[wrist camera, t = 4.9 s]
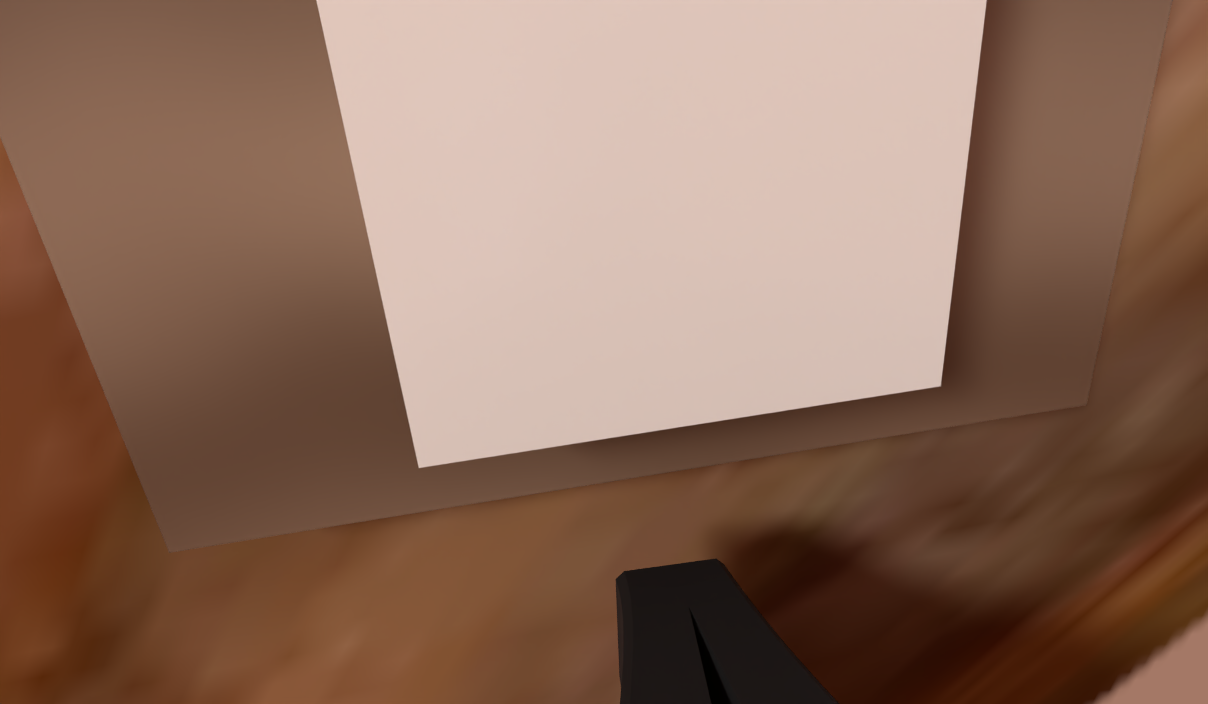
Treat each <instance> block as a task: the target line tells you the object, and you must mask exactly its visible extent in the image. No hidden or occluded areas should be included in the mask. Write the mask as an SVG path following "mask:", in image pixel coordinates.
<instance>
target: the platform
mask: <svg viewBox="0 0 1208 704" xmlns="http://www.w3.org/2000/svg"><path fill="white" fill-rule="evenodd" d="M1171 5H1172V0H987V1H986V10H985V18H984V27H983V35H982V43H981V52H980V60H979V69H978V77H977V85H976V94H975V102H974V111H973V119H972V127H971V136H970V144H969V153H968V161H967V170H966V178H965V186H964V195H963V203H962V212H961V220H960V228H959V237H958V245H957V254H956V262H955V270H954V279H953V287H952V296H951V304H950V312H949V321H948V329H947V338H946V346H945V355H944V363H943V371H942V380H941V386H939V387H933V388H926V389H920V390H914V391H907V392H901V393H894V394H888V395H882V396H875V397H869V398H863V399H856V400H850V401H843V402H837V403H831V404H824V405H818V406H811V407H805V408H799V409H792V410H786V411H780V412H773V413H767V414H760V415H754V416H748V417H741V418H735V419H728V420H722V421H716V422H709V423H703V424H697V425H690V426H684V427H677V428H671V429H665V430H658V431H652V432H645V433H639V434H633V435H626V436H620V437H614V438H607V439H601V440H594V441H588V442H582V443H575V444H569V445H563V446H556V447H550V448H543V449H537V450H531V451H524V452H518V453H511V454H505V455H499V456H492V457H486V458H480V459H473V460H467V461H460V462H454V463H448V464H441V465H435V466H428V467H422V468H419V467H418V462H417V457H416V453H415V448H414V444H413V439H412V435H411V430H410V425H409V421H408V416H407V412H406V407H405V403H404V398H403V394H402V389H401V384H400V380H399V375H398V371H397V366H396V362H395V357H394V352H393V348H392V343H391V339H390V334H389V330H388V325H387V320H386V316H385V311H384V307H383V302H382V298H381V293H380V289H379V284H378V279H377V275H376V270H375V266H374V261H373V257H372V252H371V247H370V243H369V238H368V234H367V229H366V225H365V220H364V216H363V211H362V206H361V202H360V197H359V193H358V188H357V184H356V179H355V174H354V170H353V165H352V161H351V156H350V152H349V147H348V142H347V138H346V133H345V129H344V124H343V120H342V115H341V111H340V106H339V101H338V97H337V92H336V88H335V83H334V79H333V74H332V69H331V65H330V60H329V56H328V51H327V47H326V42H325V38H324V33H323V28H322V24H321V19H320V15H319V10H318V6H317V1H316V0H0V137H1V140H2V142H3V145H4V147H5V150H6V152H7V155H8V157H9V160H10V162H11V164H12V167H13V169H14V172H15V174H16V177H17V179H18V182H19V184H20V187H21V189H22V191H23V194H24V196H25V199H26V201H27V204H28V206H29V209H30V211H31V214H32V216H33V219H34V221H35V223H36V226H37V228H38V231H39V233H40V236H41V238H42V241H43V243H44V246H45V248H46V251H47V253H48V255H49V258H50V260H51V263H52V265H53V268H54V270H55V273H56V275H57V278H58V280H59V283H60V285H61V287H62V290H63V292H64V295H65V297H66V300H67V302H68V305H69V307H70V310H71V312H72V314H73V317H74V319H75V322H76V324H77V327H78V329H79V332H80V334H81V337H82V339H83V342H84V344H85V346H86V349H87V351H88V354H89V356H90V359H91V361H92V364H93V366H94V369H95V371H96V374H97V376H98V378H99V381H100V383H101V386H102V388H103V391H104V393H105V396H106V398H107V401H108V403H109V406H110V408H111V410H112V413H113V415H114V418H115V420H116V423H117V425H118V428H119V430H120V433H121V435H122V437H123V440H124V442H125V445H126V447H127V450H128V452H129V455H130V457H131V460H132V462H133V465H134V467H135V469H136V472H137V474H138V477H139V479H140V482H141V484H142V487H143V489H144V492H145V494H146V497H147V499H148V501H149V504H150V506H151V509H152V511H153V514H154V516H155V519H156V521H157V524H158V526H159V529H160V531H161V533H162V536H163V538H164V541H165V543H166V546H167V548H168V551H169V553H170V552H177V551H183V550H189V549H195V548H202V547H208V546H214V545H220V544H226V543H233V542H239V541H245V540H251V539H257V538H264V537H270V536H276V535H282V534H289V533H295V532H301V531H307V530H313V529H320V528H326V527H332V526H338V525H344V524H351V523H357V522H363V521H369V520H375V519H382V518H388V517H394V516H400V515H407V514H413V513H419V512H425V511H431V510H438V509H444V508H450V507H456V506H462V505H469V504H475V503H481V502H487V501H493V500H500V499H506V498H512V497H518V496H525V495H531V494H537V493H543V492H549V491H556V490H562V489H568V488H574V487H580V486H587V485H593V484H599V483H605V482H612V481H618V480H624V479H630V478H636V477H643V476H649V475H655V474H661V473H667V472H674V471H680V470H686V469H692V468H698V467H705V466H711V465H717V464H723V463H730V462H736V461H742V460H748V459H754V458H761V457H767V456H773V455H779V454H785V453H792V452H798V451H804V450H810V449H816V448H823V447H829V446H835V445H841V444H848V443H854V442H860V441H866V440H872V439H879V438H885V437H891V436H897V435H903V434H910V433H916V432H922V431H928V430H935V429H941V428H947V427H953V426H959V425H966V424H972V423H978V422H984V421H990V420H997V419H1003V418H1009V417H1015V416H1021V415H1028V414H1034V413H1040V412H1046V411H1053V410H1059V409H1065V408H1071V407H1077V406H1084V405H1087V400H1088V395H1089V390H1090V386H1091V381H1092V376H1093V372H1094V367H1095V362H1096V357H1097V353H1098V348H1099V343H1100V339H1101V334H1102V329H1103V325H1104V320H1105V315H1106V310H1107V306H1108V301H1109V296H1110V292H1111V287H1112V282H1113V278H1114V273H1115V268H1116V263H1117V259H1118V254H1119V249H1120V245H1121V240H1122V235H1123V231H1124V226H1125V221H1126V216H1127V212H1128V207H1129V202H1130V198H1131V193H1132V188H1133V183H1134V179H1135V174H1136V169H1137V165H1138V160H1139V155H1140V151H1141V146H1142V141H1143V136H1144V132H1145V127H1146V122H1147V118H1148V113H1149V108H1150V104H1151V99H1152V94H1153V89H1154V85H1155V80H1156V75H1157V71H1158V66H1159V61H1160V56H1161V52H1162V47H1163V42H1164V38H1165V33H1166V28H1167V24H1168V19H1169V14H1170V9H1171Z"/></svg>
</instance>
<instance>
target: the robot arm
mask: <svg viewBox="0 0 1208 704" xmlns="http://www.w3.org/2000/svg"><path fill="white" fill-rule="evenodd" d="M616 598H617V623H618V649H619V674H620V682H621V698H620V704H839V703H838V702H837V701H836V700H835V699H834V698H833V697H832V696H831V694H830V693H829V692H828V691H827V690H826V689H825V688H824V687H823V686H822V685H821V684H820V683H819V681H818V680H817V679H816V678H815V677H814V676H813V675H812V674H811V672H810V671H809V670H808V669H807V668H806V667H805V666H804V665H803V664H802V662H801V661H800V660H799V659H798V658H797V657H796V656H795V655H794V653H793V652H792V651H791V650H790V649H789V648H788V646H787V645H786V644H785V643H784V642H783V641H782V639H781V638H780V637H779V636H778V635H777V633H776V632H775V631H774V630H773V628H772V627H771V626H770V625H769V624H768V622H767V621H766V620H765V619H764V617H763V616H762V615H761V614H760V612H759V611H758V610H757V609H756V607H755V606H754V605H753V603H752V602H751V601H750V600H749V598H748V597H747V596H746V594H745V593H744V592H743V590H742V589H741V588H740V586H739V585H738V583H737V582H736V581H735V579H734V578H733V577H732V575H731V574H730V572H729V571H728V569H727V568H726V567H725V565H724V564H723V563H721V562H720V561H719V560H717V559H710V560H703V561H695V562H688V563H681V564H673V565H666V566H659V567H652V568H644V569H637V570H630V571H624V572H623V573H622V574H621V575H620V576H619V577H618V578H616Z"/></svg>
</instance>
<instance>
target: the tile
mask: <svg viewBox="0 0 1208 704" xmlns="http://www.w3.org/2000/svg"><path fill="white" fill-rule="evenodd" d="M316 1H317V6H318V10H319V15H320V19H321V24H322V28H323V33H324V38H325V42H326V47H327V51H328V56H329V60H330V65H331V69H332V74H333V79H334V83H335V88H336V92H337V97H338V101H339V106H340V111H341V115H342V120H343V124H344V129H345V133H346V138H347V142H348V147H349V152H350V156H351V161H352V165H353V170H354V174H355V179H356V184H357V188H358V193H359V197H360V202H361V206H362V211H363V216H364V220H365V225H366V229H367V234H368V238H369V243H370V247H371V252H372V257H373V261H374V266H375V270H376V275H377V279H378V284H379V289H380V293H381V298H382V302H383V307H384V311H385V316H386V320H387V325H388V330H389V334H390V339H391V343H392V348H393V352H394V357H395V362H396V366H397V371H398V375H399V380H400V384H401V389H402V394H403V398H404V403H405V407H406V412H407V416H408V421H409V425H410V430H411V435H412V439H413V444H414V448H415V453H416V457H417V462H418V467H419V468H422V467H428V466H435V465H441V464H448V463H454V462H460V461H467V460H473V459H480V458H486V457H492V456H499V455H505V454H511V453H518V452H524V451H531V450H537V449H543V448H550V447H556V446H563V445H569V444H575V443H582V442H588V441H594V440H601V439H607V438H614V437H620V436H626V435H633V434H639V433H645V432H652V431H658V430H665V429H671V428H677V427H684V426H690V425H697V424H703V423H709V422H716V421H722V420H728V419H735V418H741V417H748V416H754V415H760V414H767V413H773V412H780V411H786V410H792V409H799V408H805V407H811V406H818V405H824V404H831V403H837V402H843V401H850V400H856V399H863V398H869V397H875V396H882V395H888V394H894V393H901V392H907V391H914V390H920V389H926V388H933V387H939V386H941V380H942V371H943V363H944V355H945V346H946V338H947V329H948V321H949V312H950V304H951V296H952V287H953V279H954V270H955V262H956V254H957V245H958V237H959V228H960V220H961V212H962V203H963V195H964V186H965V178H966V170H967V161H968V153H969V144H970V136H971V127H972V119H973V111H974V102H975V94H976V85H977V77H978V69H979V60H980V52H981V43H982V35H983V27H984V18H985V10H986V1H987V0H316Z"/></svg>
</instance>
